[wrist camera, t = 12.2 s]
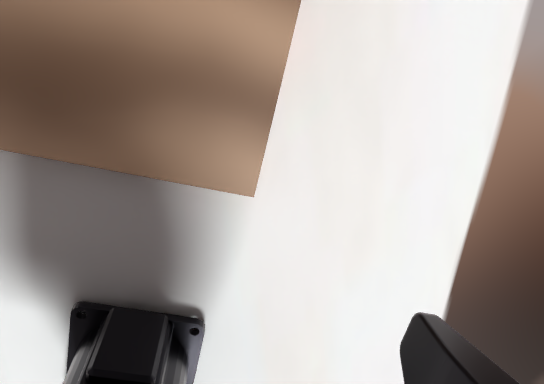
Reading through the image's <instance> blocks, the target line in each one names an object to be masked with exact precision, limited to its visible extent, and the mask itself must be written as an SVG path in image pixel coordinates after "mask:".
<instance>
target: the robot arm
mask: <svg viewBox="0 0 544 384" xmlns="http://www.w3.org/2000/svg"><path fill="white" fill-rule="evenodd" d="M79 311H83V312H85V313H86V314H83V313H80V312H79ZM191 328H197V329H198V330H193V329H191ZM204 332H205V324H204V322H203V321H201V320H200V319H196V318H189V317H183V316H176V315H169V314H163V313H156V312H149V311H143V310H136V309H129V308H123V307H116V306H109V305H103V304H96V303H89V302H78V303H76V304H75V305H74V307H73V309H72V311H71V317H70V332H69V346H68V361H67V375H66V377H65V379H64V382H63V384H193V382H194V378H195V373H196V369H197V364H198V360H199V355H200V351H201V346H202V341H203V337H204ZM400 358H401V364H402V371H403V377H404V384H519V383H518V382H517V381H516V380H515V379H513V378H512V377H511V376H510V375H508V374H507V373H506V372H505V371H504V370H503V369H501V368H500V367H499V366H498V365H496V364H495V363H494V362H493V361H492V360H490V359H489V358H488V357H487V356H485V355H484V354H483V353H482V352H481V351H480V350H478V349H477V348H476V347H475V346H473V345H472V344H471V343H470V342H469V341H467V340H466V339H465V338H464V337H463V336H461V335H460V334H459V333H458V332H456V331H455V330H454V329H453V328H452V327H450V326H449V325H448V324H447V323H446V322H444V321H443V320H442V319H441V318H440V317H438V316H436V315H433V314H427V313H421V312H418V313H416V314H415V315H414V316H413V317H412V319H411V322H410V324H409V326H408V328H407V330H406V333H405V335H404V337H403V339H402V342H401V345H400Z"/></svg>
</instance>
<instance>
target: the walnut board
mask: <svg viewBox="0 0 544 384" xmlns="http://www.w3.org/2000/svg"><path fill="white" fill-rule="evenodd" d="M300 3H301V0H0V150H5V151H10V152H15V153H21V154H26V155H31V156H37V157H42V158H47V159H53V160H58V161H63V162H69V163H74V164H79V165H85V166H90V167H95V168H101V169H106V170H111V171H117V172H122V173H127V174H132V175H138V176H143V177H148V178H154V179H159V180H164V181H170V182H175V183H180V184H186V185H191V186H196V187H202V188H207V189H212V190H218V191H223V192H228V193H234V194H239V195H244V196H250V197H254V194H255V190H256V186H257V182H258V178H259V174H260V169H261V165H262V161H263V157H264V153H265V149H266V144H267V140H268V136H269V132H270V128H271V124H272V120H273V115H274V111H275V107H276V103H277V99H278V95H279V90H280V86H281V82H282V78H283V74H284V70H285V66H286V61H287V57H288V53H289V49H290V45H291V41H292V36H293V32H294V28H295V24H296V20H297V16H298V12H299V7H300Z"/></svg>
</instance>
